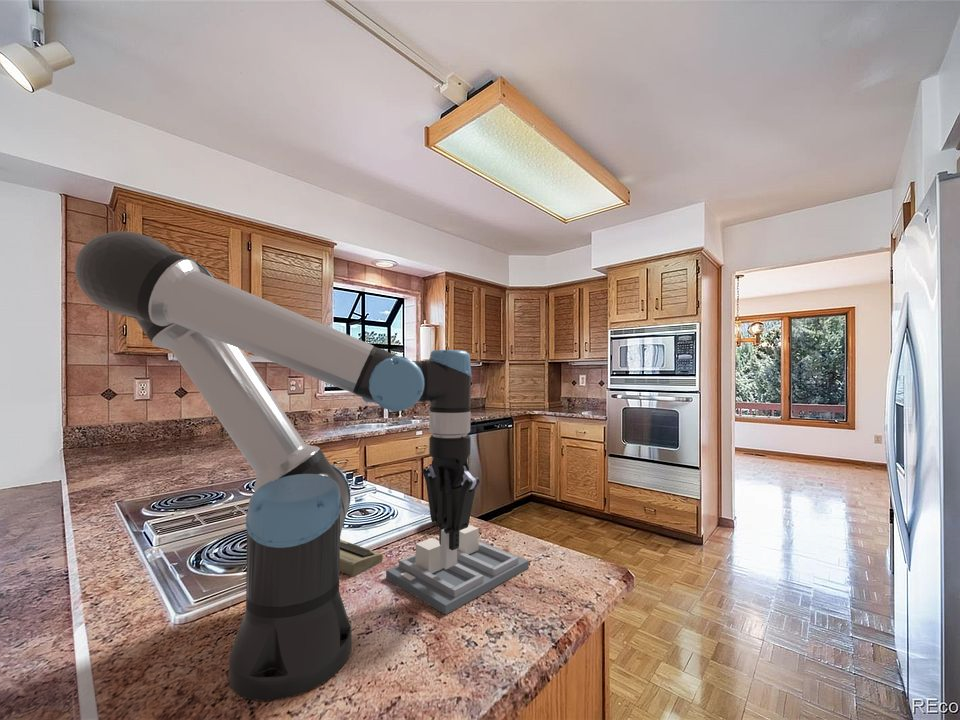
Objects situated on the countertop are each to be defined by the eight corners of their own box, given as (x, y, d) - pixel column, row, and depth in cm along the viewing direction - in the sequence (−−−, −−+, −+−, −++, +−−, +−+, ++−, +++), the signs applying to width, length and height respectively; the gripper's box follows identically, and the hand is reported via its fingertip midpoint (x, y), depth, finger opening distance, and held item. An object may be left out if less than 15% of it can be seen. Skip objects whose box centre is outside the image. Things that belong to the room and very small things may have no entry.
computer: (383, 563, 85) (383, 547, 85) (352, 580, 78) (352, 562, 78) (333, 546, 93) (334, 531, 93) (301, 559, 86) (301, 543, 86)
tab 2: (464, 556, 83) (464, 533, 83) (451, 550, 86) (451, 528, 86) (478, 550, 86) (478, 528, 86) (465, 544, 89) (465, 523, 89)
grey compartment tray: (445, 614, 66) (445, 597, 66) (385, 578, 78) (386, 563, 78) (528, 568, 82) (528, 554, 82) (468, 543, 94) (468, 531, 94)
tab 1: (428, 575, 75) (428, 550, 75) (415, 567, 78) (415, 543, 78) (445, 567, 78) (445, 543, 78) (431, 560, 81) (431, 537, 81)
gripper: (490, 436, 73) (489, 570, 73) (441, 429, 82) (440, 548, 82) (460, 441, 68) (458, 586, 67) (411, 432, 77) (410, 560, 76)
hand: (448, 565), depth 74 cm, fingers closed
